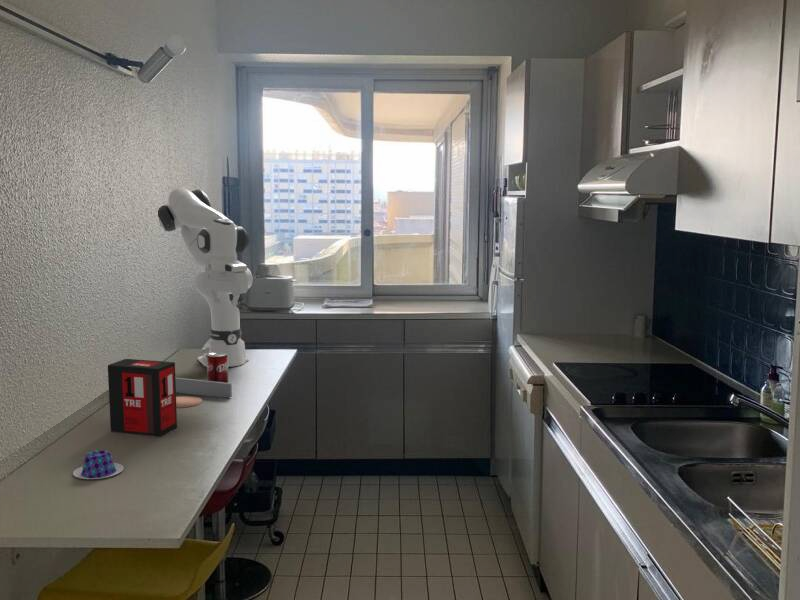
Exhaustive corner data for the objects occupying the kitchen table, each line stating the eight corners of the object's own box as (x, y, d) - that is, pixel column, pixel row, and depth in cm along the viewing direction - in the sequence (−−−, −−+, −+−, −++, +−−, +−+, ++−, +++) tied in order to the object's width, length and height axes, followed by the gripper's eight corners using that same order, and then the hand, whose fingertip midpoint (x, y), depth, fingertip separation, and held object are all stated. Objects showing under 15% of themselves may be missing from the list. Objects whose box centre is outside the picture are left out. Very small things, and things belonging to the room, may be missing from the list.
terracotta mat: (155, 401, 270) (155, 400, 270) (193, 395, 278) (193, 394, 278) (169, 410, 260) (169, 409, 260) (208, 403, 267) (208, 402, 267)
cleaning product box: (110, 431, 237) (107, 365, 234) (128, 423, 246) (125, 358, 243) (160, 436, 233) (158, 368, 230) (177, 427, 241) (174, 362, 238)
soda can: (231, 385, 292) (230, 352, 290) (224, 390, 285) (224, 356, 283) (211, 384, 293) (210, 351, 291) (204, 389, 285) (203, 356, 284)
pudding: (107, 461, 213) (106, 442, 212) (133, 472, 206) (132, 452, 205) (63, 474, 204) (62, 454, 203) (89, 485, 196) (88, 464, 196)
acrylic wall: (170, 391, 282) (169, 377, 282) (172, 390, 283) (171, 377, 282) (230, 398, 274) (229, 383, 273) (231, 397, 275) (231, 383, 274)
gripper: (198, 264, 289) (199, 302, 291) (236, 267, 277) (237, 307, 279) (212, 262, 294) (213, 300, 296) (250, 266, 282) (251, 305, 284)
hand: (225, 304), depth 287 cm, fingers open, 8 cm apart
